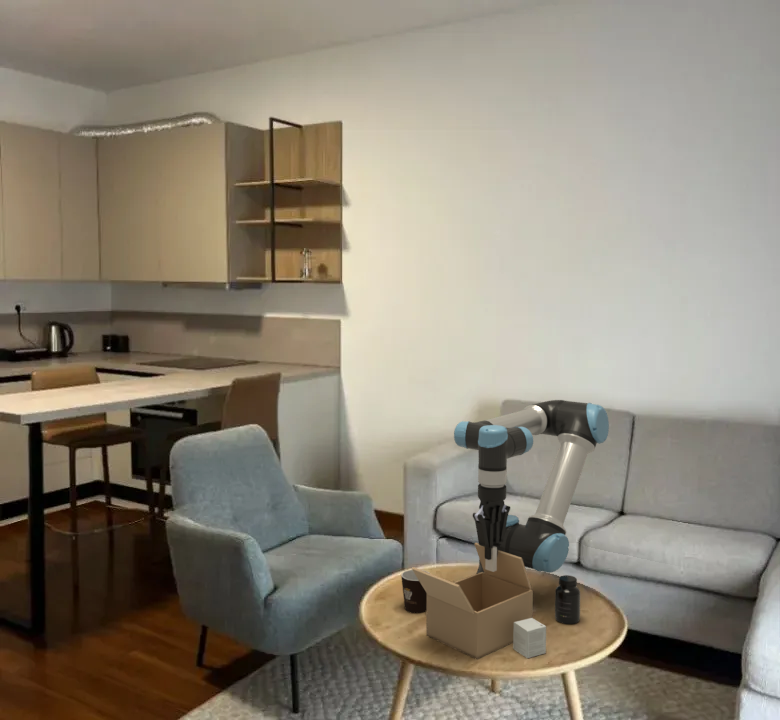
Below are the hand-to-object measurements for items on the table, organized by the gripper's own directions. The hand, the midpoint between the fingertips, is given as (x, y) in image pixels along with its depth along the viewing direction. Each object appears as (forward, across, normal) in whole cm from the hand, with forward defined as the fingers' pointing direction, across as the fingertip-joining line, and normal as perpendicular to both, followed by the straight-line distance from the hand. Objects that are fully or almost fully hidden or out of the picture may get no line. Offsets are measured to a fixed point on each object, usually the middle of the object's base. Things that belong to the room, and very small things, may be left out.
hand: (490, 569), depth 216 cm
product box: (+17, +2, +15) cm, 23 cm away
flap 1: (0, +18, 0) cm, 18 cm away
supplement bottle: (+17, -21, +10) cm, 29 cm away
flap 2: (0, -4, 0) cm, 4 cm away
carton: (+17, +4, 0) cm, 17 cm away
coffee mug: (+17, +6, -22) cm, 28 cm away
